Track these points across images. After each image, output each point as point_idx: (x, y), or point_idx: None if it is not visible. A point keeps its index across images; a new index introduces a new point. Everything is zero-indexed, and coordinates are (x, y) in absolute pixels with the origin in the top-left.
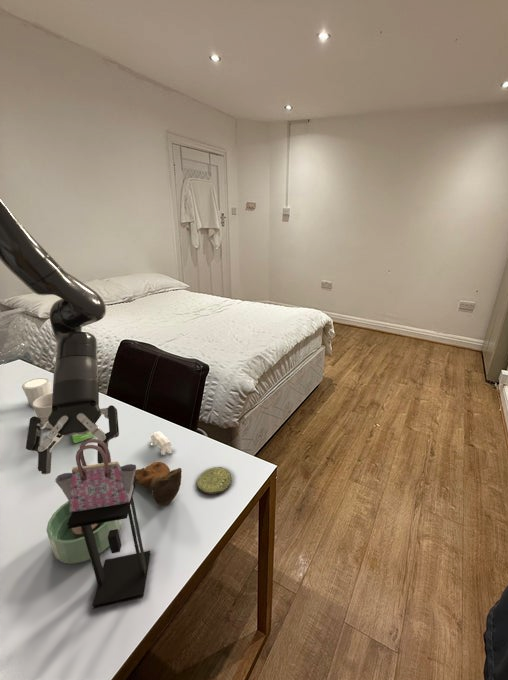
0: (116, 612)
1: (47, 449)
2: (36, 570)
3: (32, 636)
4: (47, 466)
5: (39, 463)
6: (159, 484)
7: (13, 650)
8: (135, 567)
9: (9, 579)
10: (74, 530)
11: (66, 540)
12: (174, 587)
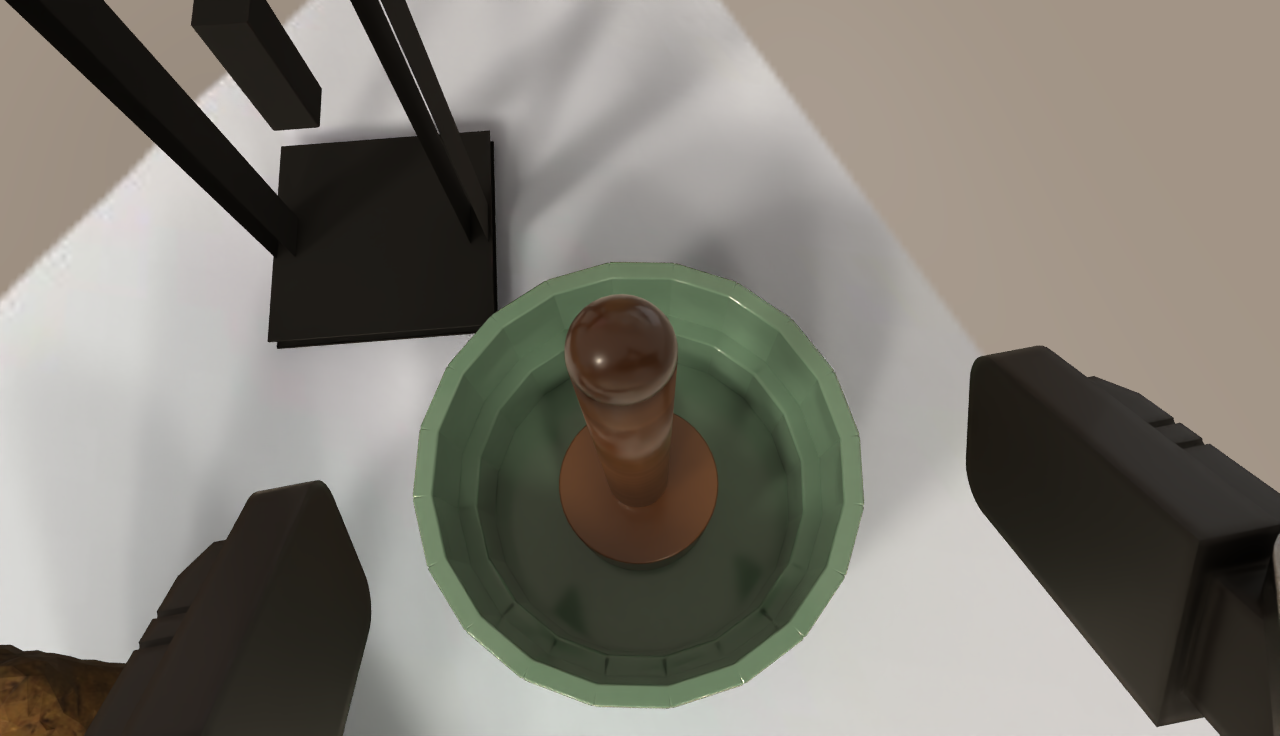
0: (392, 118)
1: (1245, 638)
2: (832, 340)
3: (691, 84)
4: (1018, 428)
5: (1169, 431)
6: (58, 662)
7: (735, 53)
8: (331, 264)
9: (938, 313)
10: (691, 438)
11: (663, 278)
12: (158, 177)
